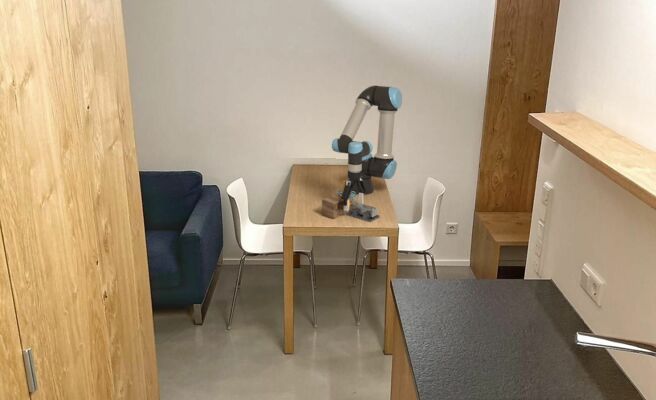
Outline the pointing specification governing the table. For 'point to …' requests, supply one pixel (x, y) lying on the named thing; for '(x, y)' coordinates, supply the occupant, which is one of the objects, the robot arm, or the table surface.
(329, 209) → the brown wooden stepped block
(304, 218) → the table surface
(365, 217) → the dark grey pegged plate
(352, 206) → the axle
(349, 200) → the orange post with rings
